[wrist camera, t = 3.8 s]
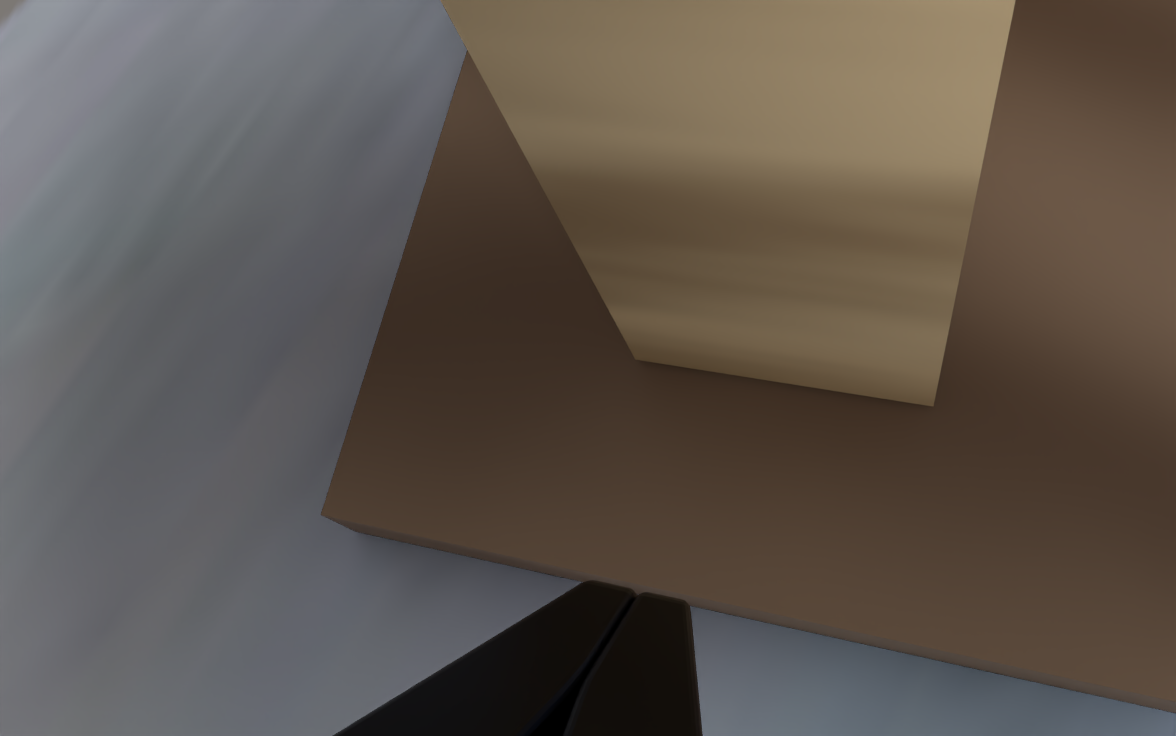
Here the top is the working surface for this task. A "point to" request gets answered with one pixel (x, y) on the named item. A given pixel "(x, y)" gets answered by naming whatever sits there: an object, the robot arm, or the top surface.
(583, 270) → the walnut sill
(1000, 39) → the pale yellow box
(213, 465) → the top surface
